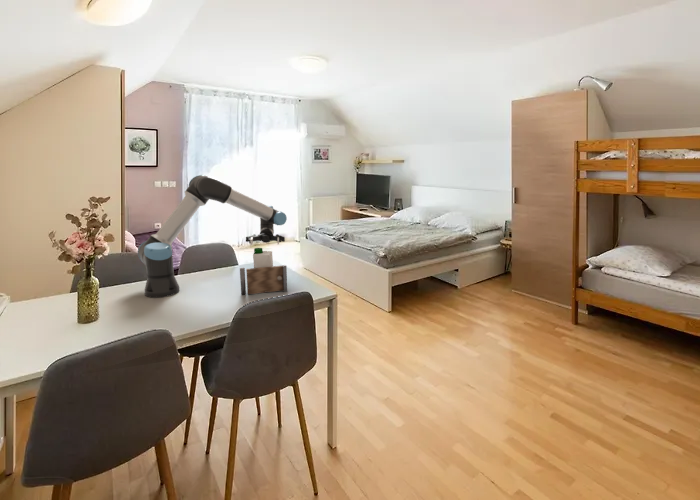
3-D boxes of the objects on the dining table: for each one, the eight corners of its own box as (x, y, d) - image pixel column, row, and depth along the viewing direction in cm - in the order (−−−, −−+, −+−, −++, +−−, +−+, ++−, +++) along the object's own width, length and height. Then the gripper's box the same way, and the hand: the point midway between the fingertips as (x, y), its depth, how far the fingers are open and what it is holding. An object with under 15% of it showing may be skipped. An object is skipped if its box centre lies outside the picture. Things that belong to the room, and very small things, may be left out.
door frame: (241, 295, 188) (239, 269, 185) (241, 294, 190) (239, 267, 187) (287, 291, 194) (286, 265, 191) (286, 290, 196) (285, 264, 193)
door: (248, 295, 187) (247, 270, 185) (247, 293, 191) (246, 268, 188) (286, 291, 194) (285, 267, 191) (284, 288, 197) (284, 265, 195)
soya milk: (257, 284, 204) (255, 246, 200) (275, 285, 204) (273, 246, 200) (253, 290, 196) (251, 250, 191) (271, 290, 196) (270, 250, 191)
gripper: (288, 241, 228) (289, 248, 208) (243, 241, 224) (239, 249, 204) (288, 228, 227) (289, 234, 206) (243, 228, 223) (239, 234, 202)
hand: (264, 241), depth 205 cm, fingers open, 13 cm apart
